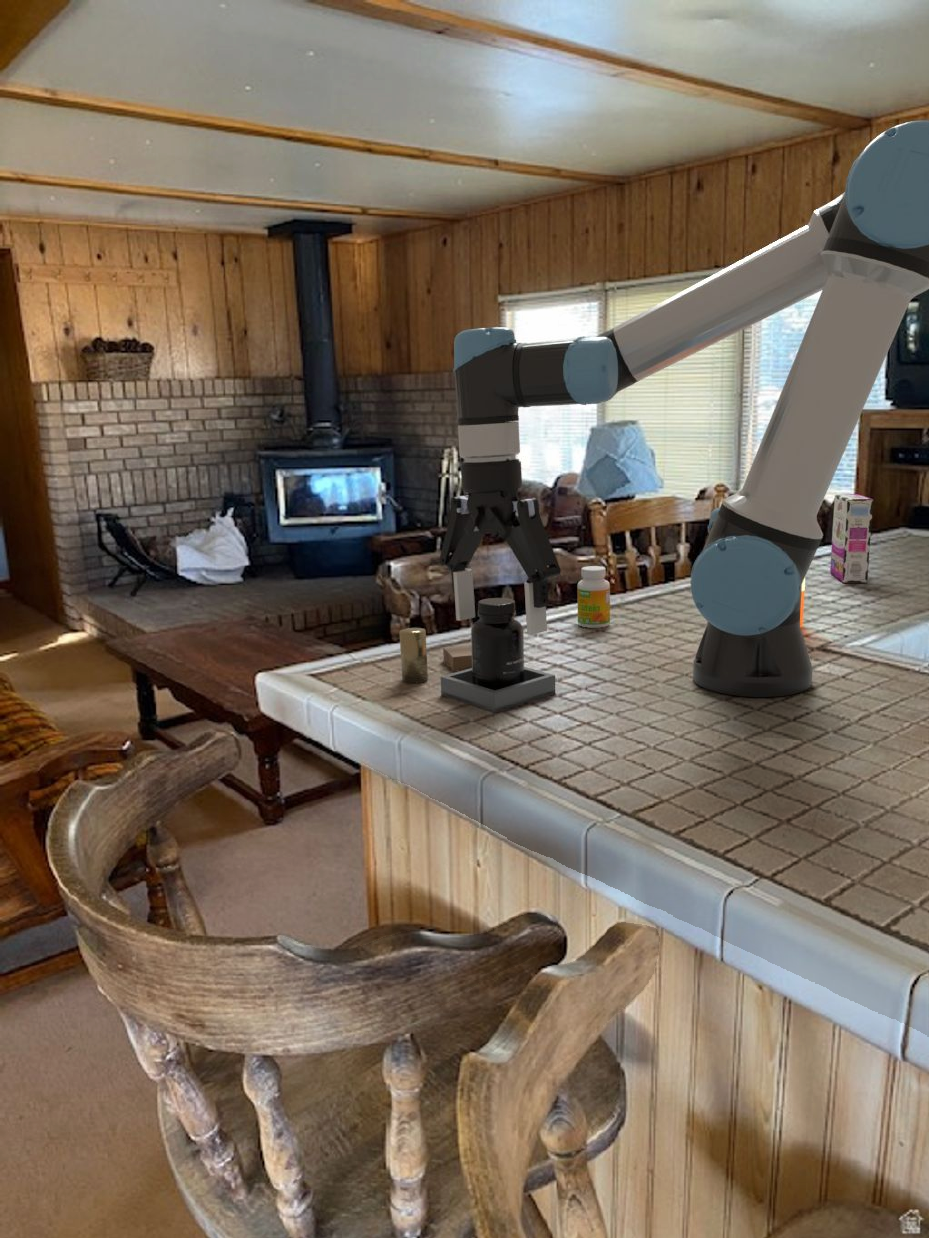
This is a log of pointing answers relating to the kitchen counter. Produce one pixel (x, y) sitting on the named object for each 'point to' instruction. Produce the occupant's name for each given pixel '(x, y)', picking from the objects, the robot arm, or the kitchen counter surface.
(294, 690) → the kitchen counter surface
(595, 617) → the supplement bottle
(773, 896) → the kitchen counter surface
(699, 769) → the kitchen counter surface
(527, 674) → the tray
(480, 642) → the supplement bottle
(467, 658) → the tan cardboard box
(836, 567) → the candy bar box
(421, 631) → the cylinder
